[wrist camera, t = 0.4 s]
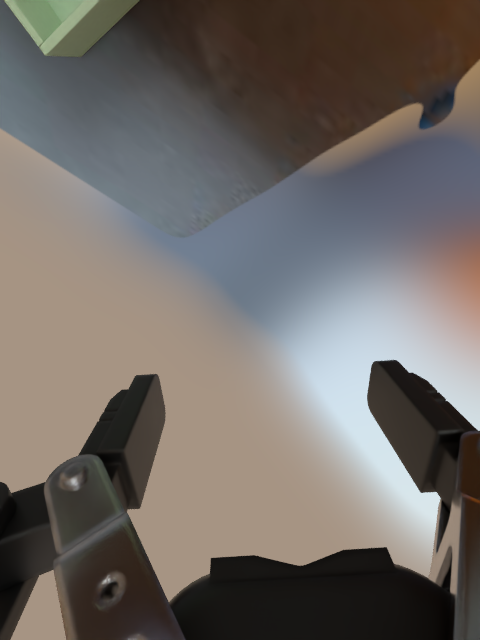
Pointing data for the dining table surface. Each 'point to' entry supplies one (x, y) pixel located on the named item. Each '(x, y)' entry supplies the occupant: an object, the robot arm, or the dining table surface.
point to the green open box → (68, 22)
